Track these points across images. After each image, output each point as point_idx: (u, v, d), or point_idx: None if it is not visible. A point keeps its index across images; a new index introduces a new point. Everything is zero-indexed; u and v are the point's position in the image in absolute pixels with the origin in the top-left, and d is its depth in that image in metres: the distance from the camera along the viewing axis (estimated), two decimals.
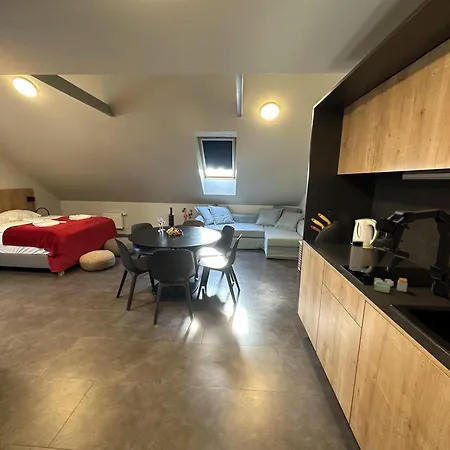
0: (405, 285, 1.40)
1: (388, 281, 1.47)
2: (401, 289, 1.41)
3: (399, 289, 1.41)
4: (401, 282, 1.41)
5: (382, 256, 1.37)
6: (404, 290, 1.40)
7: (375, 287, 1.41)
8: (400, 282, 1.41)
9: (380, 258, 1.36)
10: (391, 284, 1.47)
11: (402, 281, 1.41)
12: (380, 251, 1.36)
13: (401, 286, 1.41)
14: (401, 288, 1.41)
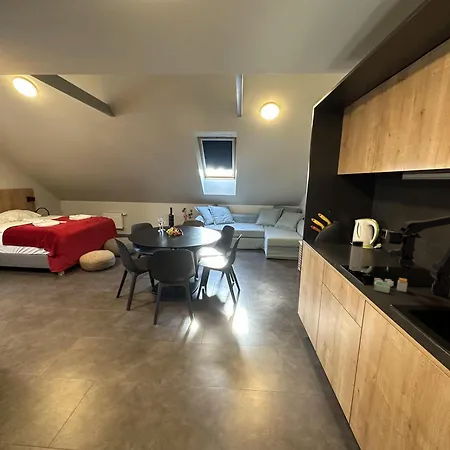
0: (405, 285, 1.40)
1: (388, 281, 1.47)
2: (401, 289, 1.41)
3: (399, 289, 1.41)
4: (401, 282, 1.41)
5: None
6: (404, 290, 1.40)
7: (375, 287, 1.41)
8: (400, 282, 1.41)
9: None
10: (391, 284, 1.47)
11: (402, 281, 1.41)
12: None
13: (401, 286, 1.41)
14: (401, 288, 1.41)
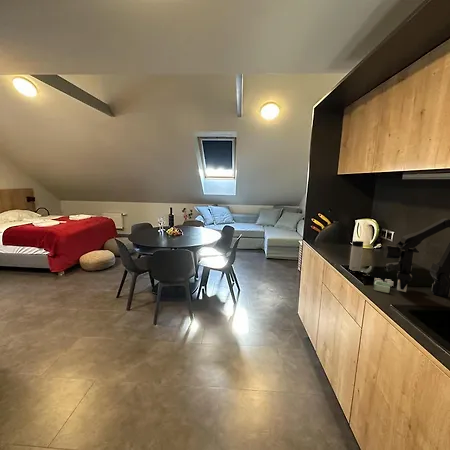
0: None
1: (388, 281, 1.47)
2: (401, 289, 1.41)
3: (399, 289, 1.41)
4: None
5: None
6: (404, 290, 1.40)
7: (375, 287, 1.41)
8: None
9: None
10: (391, 284, 1.47)
11: None
12: None
13: None
14: None
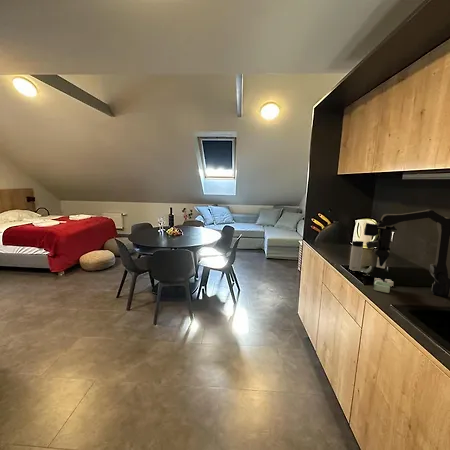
0: (384, 262, 1.45)
1: (388, 281, 1.47)
2: (380, 266, 1.46)
3: (378, 266, 1.47)
4: None
5: None
6: (383, 266, 1.46)
7: (375, 287, 1.41)
8: None
9: None
10: (391, 284, 1.47)
11: None
12: None
13: None
14: None
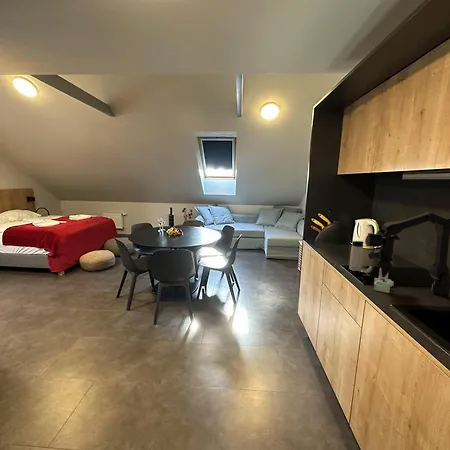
0: None
1: (388, 281, 1.47)
2: (382, 277, 1.40)
3: (380, 277, 1.40)
4: None
5: None
6: (385, 278, 1.39)
7: (375, 287, 1.41)
8: None
9: None
10: (391, 284, 1.47)
11: None
12: None
13: None
14: None
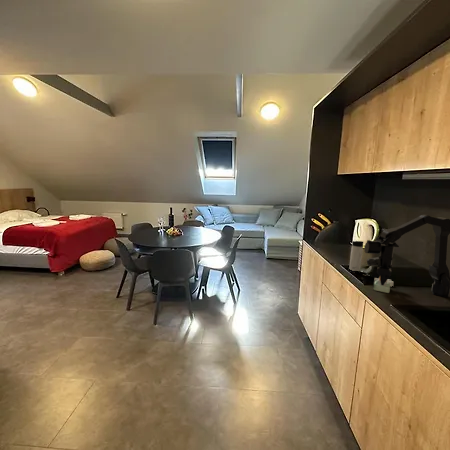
0: (385, 283, 1.39)
1: (388, 281, 1.47)
2: None
3: None
4: None
5: None
6: None
7: (375, 287, 1.41)
8: (380, 280, 1.41)
9: None
10: (391, 284, 1.47)
11: None
12: None
13: None
14: None
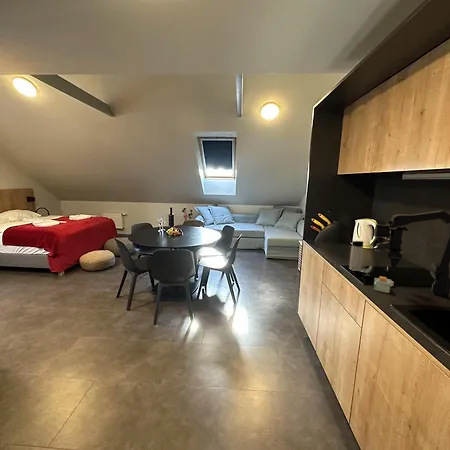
0: (385, 283, 1.39)
1: (388, 281, 1.47)
2: None
3: None
4: (381, 280, 1.40)
5: None
6: None
7: (375, 287, 1.41)
8: (380, 280, 1.41)
9: None
10: (391, 284, 1.47)
11: (382, 279, 1.40)
12: None
13: (381, 284, 1.40)
14: None
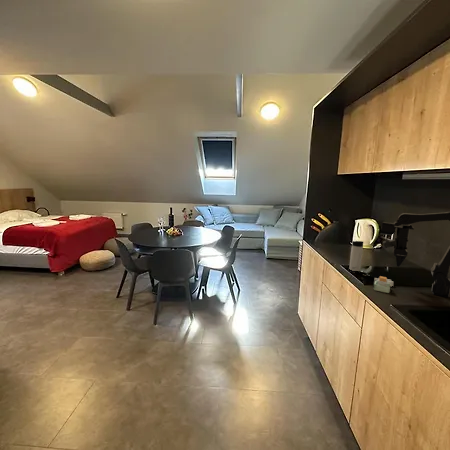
0: (385, 283, 1.39)
1: (388, 281, 1.47)
2: None
3: None
4: (381, 280, 1.40)
5: None
6: None
7: (375, 287, 1.41)
8: (380, 280, 1.41)
9: None
10: (391, 284, 1.47)
11: (382, 279, 1.40)
12: None
13: (381, 284, 1.40)
14: None
